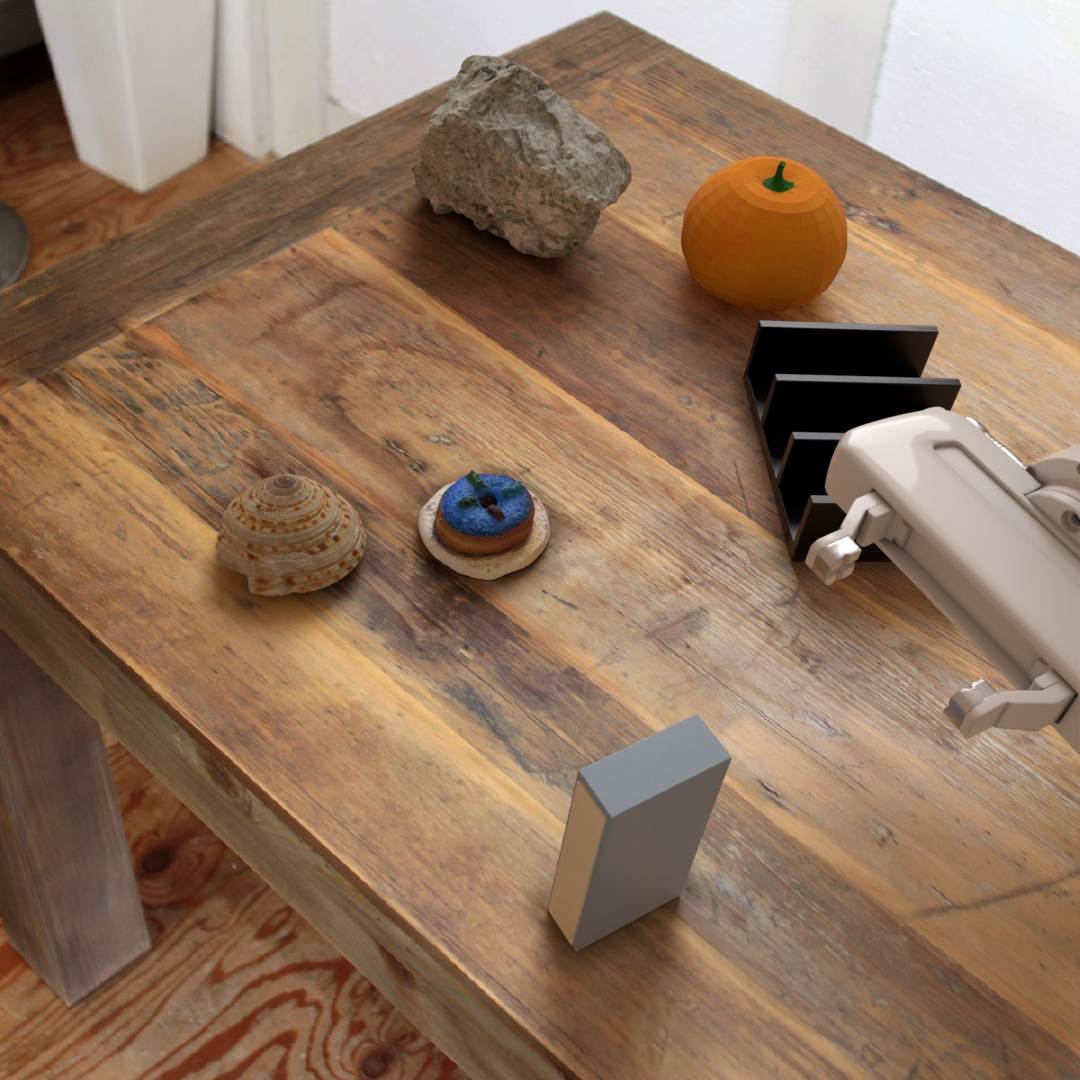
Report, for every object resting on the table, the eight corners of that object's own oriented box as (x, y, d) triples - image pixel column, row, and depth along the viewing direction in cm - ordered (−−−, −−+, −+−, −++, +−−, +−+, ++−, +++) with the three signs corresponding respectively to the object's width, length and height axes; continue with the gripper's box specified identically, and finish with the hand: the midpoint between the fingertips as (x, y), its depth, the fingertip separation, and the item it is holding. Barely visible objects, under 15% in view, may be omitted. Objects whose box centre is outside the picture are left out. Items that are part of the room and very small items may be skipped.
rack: (913, 383, 91) (936, 325, 88) (984, 563, 80) (1014, 506, 77) (742, 378, 90) (758, 319, 86) (791, 561, 79) (812, 503, 75)
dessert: (469, 596, 74) (445, 494, 72) (411, 579, 79) (387, 483, 77) (583, 548, 78) (562, 451, 76) (520, 535, 83) (500, 444, 81)
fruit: (844, 338, 94) (885, 217, 86) (679, 326, 93) (706, 203, 85) (818, 239, 102) (854, 121, 94) (666, 227, 101) (690, 107, 93)
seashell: (191, 577, 71) (226, 440, 73) (212, 607, 76) (244, 478, 79) (343, 601, 71) (373, 463, 73) (354, 630, 76) (381, 500, 79)
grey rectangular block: (680, 895, 64) (732, 757, 55) (572, 954, 61) (608, 820, 52) (651, 853, 65) (697, 712, 56) (544, 909, 62) (574, 771, 54)
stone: (577, 237, 88) (389, 126, 90) (570, 317, 100) (404, 218, 102) (652, 131, 90) (467, 24, 92) (636, 221, 102) (473, 125, 104)
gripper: (972, 355, 67) (757, 436, 62) (1304, 643, 57) (1081, 775, 51) (932, 444, 72) (729, 528, 66) (1232, 726, 61) (1020, 855, 56)
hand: (884, 638), depth 59 cm, fingers open, 8 cm apart
